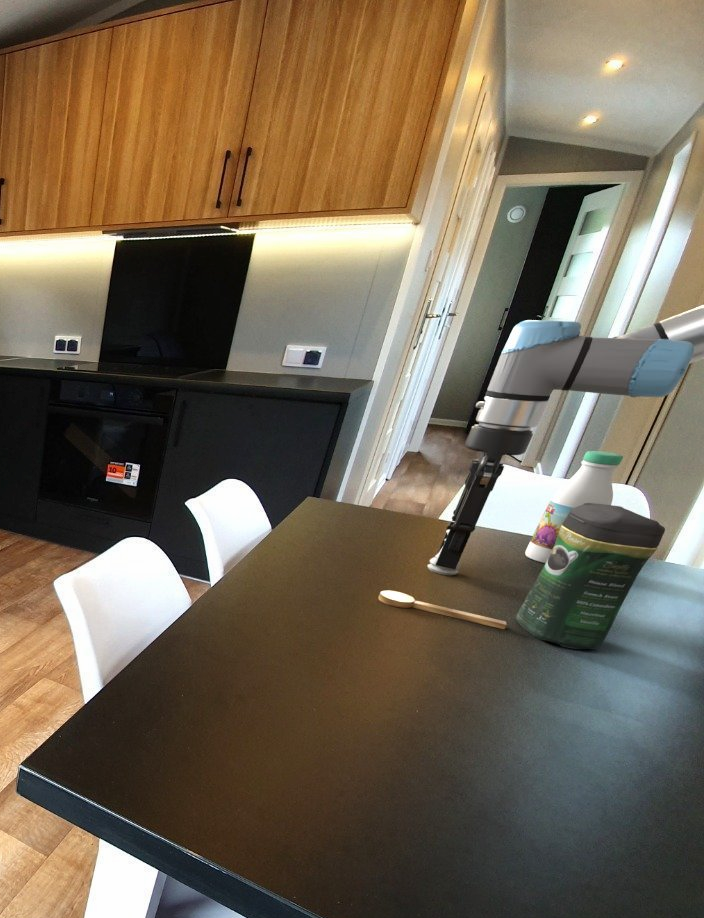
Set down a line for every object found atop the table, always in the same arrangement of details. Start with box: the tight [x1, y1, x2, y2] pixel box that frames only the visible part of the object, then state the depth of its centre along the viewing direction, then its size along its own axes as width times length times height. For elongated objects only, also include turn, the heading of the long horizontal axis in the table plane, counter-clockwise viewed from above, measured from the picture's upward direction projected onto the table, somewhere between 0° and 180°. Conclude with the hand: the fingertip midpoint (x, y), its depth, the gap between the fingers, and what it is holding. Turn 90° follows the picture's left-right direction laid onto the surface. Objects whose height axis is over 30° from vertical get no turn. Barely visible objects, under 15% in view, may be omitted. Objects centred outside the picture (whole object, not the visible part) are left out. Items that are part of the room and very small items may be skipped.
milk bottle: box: [525, 450, 624, 564], centre depth 113 cm, size 8×8×20 cm
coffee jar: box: [515, 503, 666, 650], centre depth 85 cm, size 10×8×19 cm
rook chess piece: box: [427, 529, 462, 576], centre depth 109 cm, size 4×4×8 cm
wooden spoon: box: [378, 590, 508, 630], centre depth 95 cm, size 15×4×1 cm, turn 51°
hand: (445, 562), depth 110 cm, fingers closed on rook chess piece, 4 cm apart
